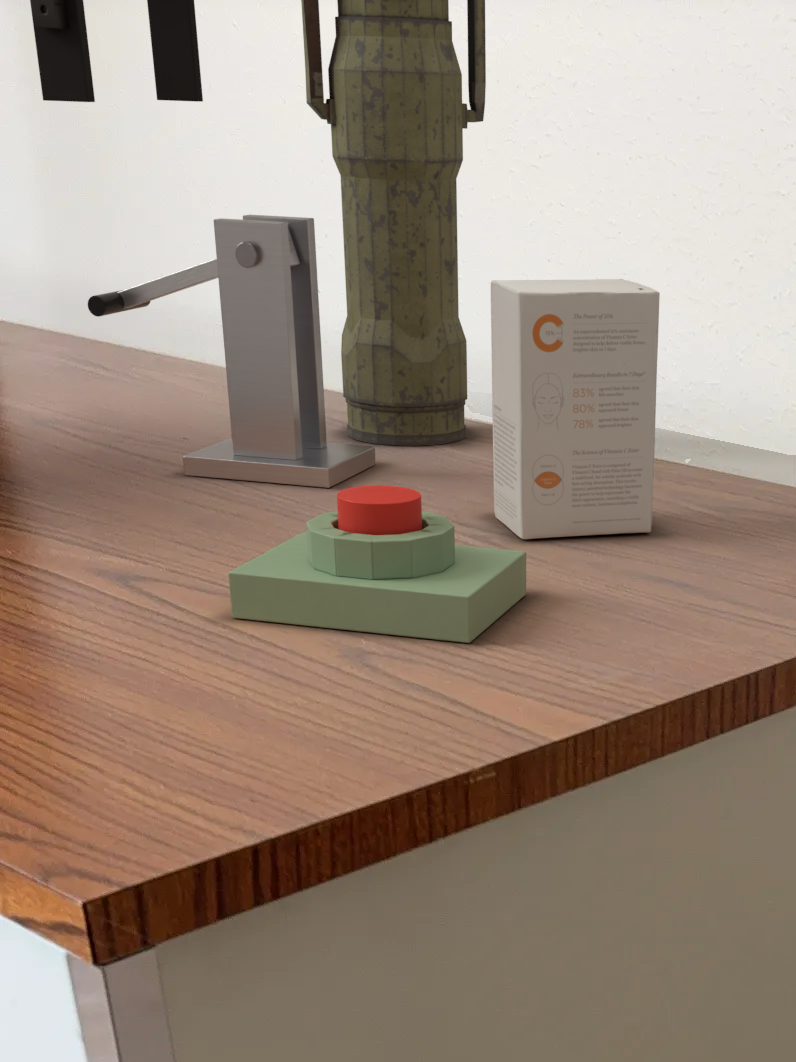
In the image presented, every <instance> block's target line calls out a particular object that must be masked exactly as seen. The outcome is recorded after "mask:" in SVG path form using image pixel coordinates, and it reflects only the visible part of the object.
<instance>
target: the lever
mask: <svg viewBox="0 0 796 1062" xmlns="http://www.w3.org/2000/svg"><path fill="white" fill-rule="evenodd" d="M288 239H289V255H290V267H293V266H296V265H299V264H300V262H299V259H298V256H297V253H296V250H295V247H294V244H293V241H292V238H291V235H290V232H289V229H288ZM216 279H218V267H217V257H216V258H214V259H210V260H207V261H204V262H201V263H199V264H195V265H193V266H190V267H187V268H184V269H181V270H178V271H176V272H175V271H174V272H173V273H169V274H166V275H164V276H160V277H158V278H155V279H152V280H149V281H146V282H143V283H140V284H137V285H134V286H131V287H128V288H125V289H121V290H116V291H110V292H106V293H101V294H100V293H99V294H95V295H92V296H90V297H89V298H88V300H87V307H88V311H89V312H90V314H91V315H93V316H95V317H99V318H100V317H104V316H108V315H112V314H118V313H123V312H126V311H131V310H135V309H136V310H137V309H141V308H145V307H148V306H149V305H150V304H151V301H155V300H156V299H160V298H163V297H165V296H168V295H169V296H170V295H172V294H174V293H177V292H181V291H183V290H187V289H189V288H192V287H195V286H199V285H202V284H204V283H208V282H211V281H213V280H216Z"/></svg>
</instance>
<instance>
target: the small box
mask: <svg viewBox="0 0 796 1062" xmlns="http://www.w3.org/2000/svg"><path fill="white" fill-rule="evenodd" d="M659 322H660V292H659V291H658V290H657V289H654V288H653V287H649V286H647V285H643V284H641V283H638V282H634V281H631V280H627V279H623V278H615V279H613V278H612V279H610V278H606V279H605V278H603V279H602V278H601V279H599V278H598V279H597V278H596V279H499V280H497V279H494V280H493V279H492V280H491V281H490V335H491V336H490V338H491V339H490V340H491V405H492V406H491V407H492V408H491V409H492V410H491V411H492V412H491V413H492V414H491V415H492V463H493V466H492V467H493V513H494V516H495V518H496V519H497V520H499V521H500V522H501V523H502V524H503V525H504V526H506V527H507V528H508V529H509V530H510V531H512V532H513V533H514V534H515V535H516V536H517V537H519V538H520V539H521V540H533V539H535V540H536V539H550V538H565V537H580V536H581V537H582V536H598V535H618V534H619V535H620V534H639V533H641V534H642V533H651V532H652V521H653V494H654V492H653V491H654V472H655V471H654V470H655V447H656V445H655V443H656V409H657V405H656V404H657V378H658V377H657V376H658V350H659V349H658V347H659V327H660V326H659V324H660V323H659Z"/></svg>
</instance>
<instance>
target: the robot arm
mask: <svg viewBox="0 0 796 1062" xmlns="http://www.w3.org/2000/svg"><path fill="white" fill-rule="evenodd" d="M29 2H30V10H31V18H32V26H33V34H34V41H35V48H36V56H37V65H38V71H39V78H40V79H39V80H40V86H41V94H42V101H49V102H73V103H75V102H76V103H96V99H95V91H94V89H95V88H94V81H93V73H92V66H91V56H90V55H91V54H90V48H89V38H88V30H87V22H86V13H85V4H84V3H85V2H84V0H29ZM146 2H147V3H146V4H147V13H148V23H149V33H150V43H151V51H152V52H151V53H152V62H153V73H154V82H155V93H156V100H157V101H174V102H176V101H177V102H204V98H203V87H202V76H201V65H200V53H199V51H200V50H199V41H198V29H197V20H196V7H195V0H146Z"/></svg>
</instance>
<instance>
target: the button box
mask: <svg viewBox="0 0 796 1062" xmlns="http://www.w3.org/2000/svg"><path fill="white" fill-rule="evenodd" d="M305 527H306V530H304V531H302V532H300V533H298V534H296V535H294V536H293V537H290V538H289V539H287V540H285V541H284V542H282V543H280V544H278V545H276V546H274V547H272V548H271V549H269V550H267V551H265V552H263V553H260V555H257V556H256V557H254V558H252V559H250V560H249V561H246V562H244V563H243V564H241V565H239V566H237V567H236V568H234V569H232V570H230V571H228V573H227V575H228V576H227V577H228V585H229V586H228V587H229V599H230V609H231V617H232V618H233V619H240V620H247V621H248V620H250V621H259V622H267V623H268V622H269V623H276V624H277V623H278V624H285V625H286V624H287V625H296V626H306V627H314V628H315V627H316V628H323V629H334V630H344V631H352V632H362V633H370V634H371V633H372V634H379V635H380V634H381V635H390V636H399V637H408V638H416V639H417V638H418V639H427V640H428V639H429V640H435V641H446V642H454V643H455V642H457V643H465V644H470V643H472V642H473V641H474V640H475V639H476V638H477V637H479V636H480V635H481V634H482V633H483V632H485V630H487V629H488V628H489V627H491V625H493V624H494V623H495V622H496V621H497V620H498V619H499V618H501V616H503V615H504V614H505V613H506V612H508V611H509V610H510V609H511V608H512V607H513V606H515V605H516V604H517V603H518V602H519V601H520V600H521V599H522V598H524V597H525V596H526V595H527V551H525V550H516V549H504V548H494V547H483V546H474V545H462V544H455V543H456V542H455V525H454V524H453V523H452V521H451V520H450V519H449V517H448V516H444V515H440V514H436V513H434V512H430V511H425V510H422V530H420V531H415V532H409V533H404V534H397V535H368V534H357V533H349V532H346V531H342V530H339V527H338V510H333V511H329V512H323V513H320V514H318V515H316V516H315V517H313V518H311V519H309V520H307V521H306V524H305Z"/></svg>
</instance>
